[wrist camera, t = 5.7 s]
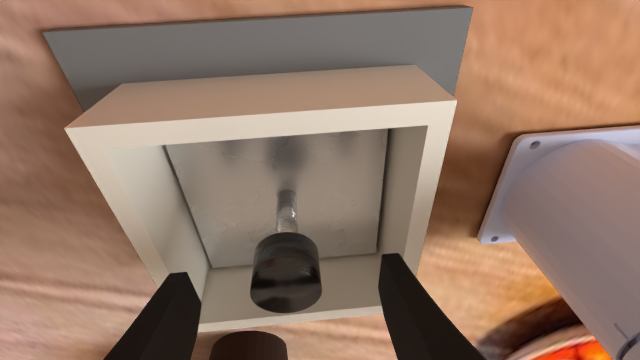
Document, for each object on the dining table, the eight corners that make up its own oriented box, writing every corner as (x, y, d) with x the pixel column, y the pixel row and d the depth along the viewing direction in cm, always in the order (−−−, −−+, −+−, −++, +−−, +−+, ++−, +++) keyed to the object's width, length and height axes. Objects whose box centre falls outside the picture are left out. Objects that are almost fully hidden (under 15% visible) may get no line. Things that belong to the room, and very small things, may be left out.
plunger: (388, 93, 13) (445, 171, 8) (373, 246, 19) (402, 344, 14) (157, 109, 13) (79, 201, 8) (214, 261, 19) (188, 368, 14)
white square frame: (414, 64, 13) (457, 100, 10) (388, 253, 20) (407, 311, 17) (122, 83, 12) (63, 128, 9) (201, 271, 19) (184, 333, 16)
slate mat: (466, 5, 12) (473, 7, 12) (411, 263, 22) (414, 270, 21) (52, 29, 12) (42, 32, 11) (181, 285, 21) (179, 293, 21)
